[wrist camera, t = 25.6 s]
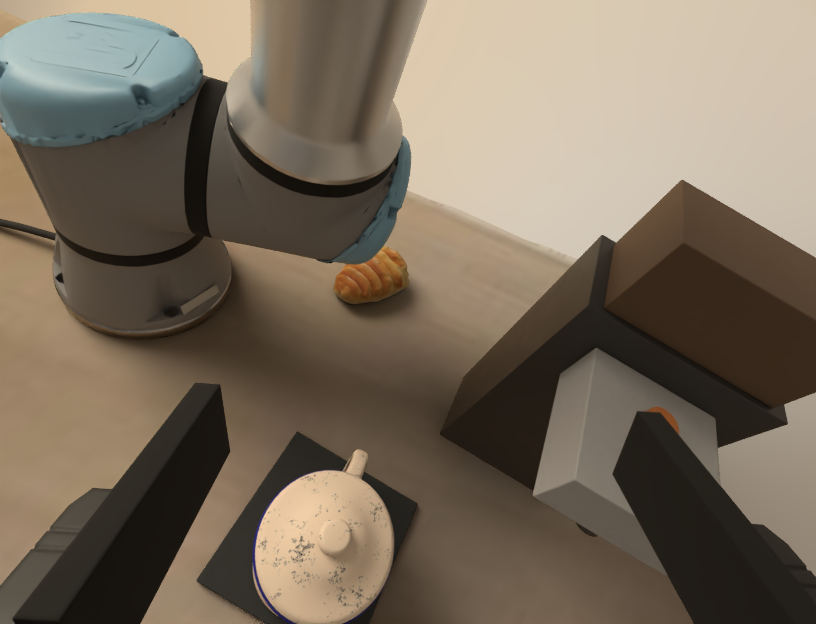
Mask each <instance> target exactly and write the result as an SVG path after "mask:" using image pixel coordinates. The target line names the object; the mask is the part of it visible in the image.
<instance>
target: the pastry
mask: <svg viewBox="0 0 816 624" xmlns="http://www.w3.org/2000/svg"><path fill="white" fill-rule="evenodd" d="M408 276H409V274H408V272H407V265H406V263H405V261H404V260H403V258H402V257H401V256H400V254H399V253H398V252H397V251H395V250H392V249H391V248H389V247H382V248H381V250H380V251H379V252H378V253H377V254H376V255H375V256H374V257H373V258H372V259H371V260H369V261H367V262H365V263H362V264H357V265H353V264H347V265H346V266H345V267H344V268H343V270H342V271H341V272H340V274H338V275H337V276H336V281H335V285H334V292H335V293H336V295H337V296H338V297H339V298H340V299H342V300H344V301H345V302H348V303H350V304H357V303H364V302H379V301H380V300H382V299H385V298H387V297H389V296H391V295H393V294H396V293H398V292H399V291H400V290H402V289H404V288H406V287H407V286H408V285H409V279H408Z"/></svg>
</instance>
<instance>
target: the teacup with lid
mask: <svg viewBox="0 0 816 624" xmlns="http://www.w3.org/2000/svg"><path fill="white" fill-rule="evenodd" d="M367 462H368V454H367V453H366V452H364V451H362V450H360V449H358V450H355V451H354V452H353V454H352V455H351V457H350V458H349V460H348V462H347V464H346V466H345V468H344V469H343V471H337V470H321V471H315V472H311V473H308V474H305V475H303V476H301V477H299V478H297V479H295V480H293V481H292V482H290V483H289V484H288V485H286V486H285V487H284V488H283V489H282V490H281V491H279V492H278V493H277V495H276V496H275V497H274V498H273V499H272V500H271V502H270V503H269V505H268V506H267V508H266V509H265V511H264V513H263V515H262V517H261V519H260V522H259V524H258V527H257V530H256V534H255V538H254V543H253V578H254V583H255V586H256V589H257V592H258V594H259V596H260V598H261V600H262V601H263V603H264V604H265V605H266V606H267V608H268V609H269V610H271V611H272V612H273V613H274V614H276V615H277V616H279V617H280V618H282V619H283V620H284V621H286V622H288V623H290V624H347V623H349V622H351V621H353V620H354V619H356V618H357V617H359V616H360V615H361V614H363V613H364V612H365V611H366V610H367V609H368V608H369V607H370V606H371V605H372V604H373V602H374V601H375V600H376V599H377V597H378V596H379V594H380V593H381V591H382V589H383V588H384V586H385V583H386V581H387V579H388V576H389V574H390V570H391V567H392V562H393V557H394V532H393V526H392V521H391V518H390V515H389V513H388V510H387V508H386V506H385V504H384V502H383V501H382V499H381V498H380V496H379V495H378V494H377V492H376V491H375V490H374V489H373V488H372V487H371V486H370V485H369V484H367V483H366V482H365V481H363V480H362V479H361V478H362V476H363V473H364V471H365V468H366V466H367Z"/></svg>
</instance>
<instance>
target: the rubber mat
mask: <svg viewBox="0 0 816 624" xmlns="http://www.w3.org/2000/svg"><path fill="white" fill-rule="evenodd" d="M346 464H347V461H345V460H344V459H342V458H341V457H339V456H337V455H336V454H334V453H332V452H331V451H329V450H327V449H326V448H324V447H322V446H321V445H319V444H317V443H316V442H314V441H312V440H311V439H309V438H307V437H306V436H304V435H302V434H301V433H299V432H297V433H296V434H295V436H294V437H293V439H292V440H291V441H290V443H289V444H288V446H287V447H286V449H285V450H284V452H283V453H282V455H281V456H280V458H279V459H278V461H277V462H276V464H275V465H274V467H273V468H272V470H271V471H270V472H269V474H268V475H267V477H266V478H265V480H264V481H263V483H262V484H261V486H260V487H259V489H258V490H257V492H256V493H255V495H254V496H253V498H252V499H251V501H250V502H249V503H248V505H247V506H246V508H245V509H244V511H243V512H242V514H241V515H240V517H239V518H238V520H237V521H236V523H235V524H234V526H233V527H232V529H231V530H230V532H229V533H228V534H227V536H226V537H225V539H224V540H223V542H222V543H221V545H220V546H219V548H218V549H217V551H216V552H215V554H214V555H213V557H212V558H211V560H210V561H209V563H208V564H207V565H206V567H205V568H204V570H203V571H202V573H201V574H200V576H199V577H198V579H197V582H199V583H200V584H202V585H204V586H205V587H207V588H209V589H210V590H212V591H214V592H215V593H217V594H219V595H220V596H222V597H223V598H225V599H227V600H228V601H230V602H232V603H233V604H235V605H237V606H238V607H240V608H242V609H243V610H245V611H246V612H248V613H250V614H251V615H253V616H255V617H256V618H258V619H260V620H261V621H263V622H265V623H266V624H290V623H288V622H286V621H284V620H283V619H282V618H280V617H279V616H277V615H276V614H274V613H273V612H272V611H271V610H269V609H268V608H267V606H266V605H265V604H264V603H263V601H262V600H261V598H260V596H259V594H258V592H257V589H256V586H255V583H254V578H253V543H254V538H255V534H256V530H257V527H258V524H259V522H260V519H261V517H262V515H263V513H264V511H265V509H266V508H267V506H268V505H269V503H270V502H271V500H272V499H273V498H274V497H275V496H276V495H277V493H278V492H279V491H281V490H282V489H283V488H284V487H285V486H286V485H288V484H289V483H290V482H292V481H293V480H295V479H297V478H299V477H301V476H303V475H305V474H308V473H311V472H315V471H321V470H337V471H343V469H344V468H345V466H346ZM361 479H362V480H363V481H365V482H366V483H367V484H369V485H370V486H371V487H372V488H373V489H374V490H375V491H376V492H377V494H378V495H379V496H380V498H381V499H382V501H383V502H384V504H385V506H386V508H387V510H388V513H389V515H390V518H391V521H392V526H393V532H394V557H393V562H392V566H393V563H394V561H395V558H396V556H397V553H398V551H399V548H400V546H401V543H402V541H403V539H404V536H405V534H406V531H407V529H408V526H409V524H410V521H411V519H412V516H413V514H414V512H415V509H416V507H417V503H415V502H414V501H412V500H410V499H409V498H407V497H405V496H404V495H402V494H400V493H399V492H397V491H395V490H394V489H392V488H390V487H389V486H387V485H385V484H384V483H382V482H380V481H379V480H377V479H375V478H374V477H372V476H370V475H369V474H367V473H365V472H364V473H363V476H362V478H361ZM391 568H392V567H391ZM382 590H383V589H382ZM381 592H382V591H381ZM380 595H381V593H380V594H379V596H378V597H377V599H376V600H375V601H374V602H373V604H372V605H371V606H370V607H369V608H368V609H367V610H366V611H365V612H364V613H363V614H361V615H360V616H359V617H357V618H356V619H354V620H353V621H351V622H349V623H347V624H369V622H370V619H371V617H372V615H373V612H374V610H375V607H376V605H377V602H378V600H379V597H380Z"/></svg>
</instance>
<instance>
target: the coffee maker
mask: <svg viewBox="0 0 816 624" xmlns="http://www.w3.org/2000/svg"><path fill="white" fill-rule="evenodd" d="M815 392H816V258H815V257H813V256H812V255H810V254H808V253H807V252H805V251H803V250H801V249H800V248H798V247H796V246H795V245H793V244H791V243H790V242H788V241H786V240H784V239H783V238H781V237H779V236H777V235H776V234H774V233H772V232H771V231H769V230H767V229H766V228H764V227H762V226H760V225H759V224H757V223H755V222H754V221H752V220H750V219H749V218H747V217H745V216H743V215H742V214H740V213H738V212H737V211H735V210H733V209H732V208H730V207H728V206H726V205H725V204H723V203H721V202H720V201H718V200H716V199H714V198H713V197H711V196H709V195H708V194H706V193H704V192H702V191H701V190H699V189H697V188H696V187H694V186H692V185H691V184H689V183H687V182H685V181H684V180H681V181H680V182H679V183H678V184H677V185H676V186H675V187H674V188H673V189H672V190H670V192H669V193H667V195H665V196H664V197H663V198H662V199H661V200H660V201H659V202H658V203H657V204H656V205H655V206H654V207H653V208H652V209H651V210H650V211H649V212H648V213H647V214H646V215H645V216H644V217H643V218H642V219H641V220H640V221H639V222H637V223H636V224H635V225H634V226H633V227H632V228H631V229H630V230H629V231H628V232H627V233H626V234H625V235H624V236H623V237H622V238H621V239H620V240H619V241H618V242H617V243H615V242H614V241H612V240H610V239H609V238H607V237H605V236H604V235H602V236H600V237H599V238H598V240H597V241H596V242H595V243H594V244H593V245H592V246H591V247H590V248H589V249H588V250H587V251H586V252H585V253H584V254H583V255H582V256H581V257H580V258H579V259H578V260H577V261H576V262H575V263H574V264H573V265H572V266H571V267H570V268H569V269H568V270H567V271H566V272H565V273H564V274H563V275H562V276H561V277H560V279H559V280H558V281H557V282H556V283H555V284H554V285H553V286H552V287H551V288H550V289H549V290H548V291H547V292H546V293H545V294H544V295H543V296H542V297H541V298H540V299H539V300H538V301H537V302H536V303H535V304H534V305H533V306H532V307H531V308H530V309H529V310H528V311H527V312H526V313H525V314H524V315H523V317H522V318H521V319H520V320H519V321H518V322H517V323H516V324H515V325H514V326H513V327H512V328H511V329H510V330H509V331H508V332H507V333H506V334H505V335H504V336H503V337H502V338H501V339H500V340H499V341H498V342H497V343H496V344H495V345H494V346H493V347H492V348H491V349H490V350H489V351H488V352H487V353H486V355H485V356H484V357H483V358H482V359H481V360H480V361H479V362H478V363H477V364H476V365H475V366H474V367H473V368H472V369H471V370H470V371H469V372H468V373H467V374H466V375H465V376H464V378H463V380H462V382H461V385H460V387H459V389H458V392H457V394H456V397H455V399H454V401H453V404H452V406H451V409H450V411H449V413H448V416H447V418H446V421H445V423H444V425H443V428H442V430H441V432H440V435H442V436H444V437H445V438H447V439H449V440H450V441H452V442H454V443H455V444H457V445H459V446H460V447H462V448H464V449H465V450H467V451H469V452H470V453H472V454H474V455H475V456H477V457H479V458H480V459H482V460H484V461H485V462H487V463H489V464H490V465H492V466H494V467H495V468H497V469H499V470H500V471H502V472H504V473H505V474H507V475H509V476H510V477H512V478H514V479H515V480H517V481H519V482H520V483H522V484H524V485H525V486H527V487H529V488H530V489H532V490H534V491H533V497H535V498H536V499H538V500H540V501H541V502H543V503H545V504H546V505H548V506H550V507H551V508H553V509H555V510H556V511H558V512H560V513H561V514H563V515H565V516H566V517H568V518H570V519H571V520H573V521H575V522H576V524H577V525H578V527H579V528H580V529H581V530H582V531H583V532H584V533H586V534H587V535H590V536H593V537H596V536H600V537H601V538H603V539H605V540H606V541H608V542H610V543H611V544H613V545H615V546H616V547H618V548H620V549H621V550H623V551H625V552H626V553H628V554H630V555H631V556H633V557H635V558H636V559H638V560H640V561H641V562H643V563H645V564H646V565H648V566H650V567H651V568H653V569H655V570H656V571H658V572H660V573H661V574H663V575H665V576H668V575H667V573H666V571H665V570H664V568H663V566H662V564H661V562H660V561H659V559H658V557H657V555H656V553H655V551H654V550H653V548H652V546H651V544H650V542H649V540H648V539H647V537H646V535H645V533H644V531H643V529H642V528H641V526H640V524H639V522H638V520H637V519H636V517H635V515H634V513H633V511H632V509H631V508H630V506H629V504H628V502H627V500H626V498H625V497H624V495H623V493H622V491H621V489H620V487H619V486H618V484H617V482H616V480H615V478H614V477H613V475H612V473H613V471H614V468H615V465H616V463H617V460H618V458H619V455H620V453H621V450H622V448H623V445H624V443H625V440H626V438H627V435H628V433H629V430H630V428H631V425H632V423H633V420H634V418H635V415H636V413H637V411H644V412H660V413H661V414H662V415H663V416H664V417H665V418H666V420H667V421H668V422H669V423H670V425H671V426H672V427H673V428H674V429H675V431H676V432H677V433H678V434H679V436H680V437H681V438H682V439H683V441H684V442H685V443H686V444H687V445H688V447H689V448H690V449H691V450H692V452H693V453H694V454H695V455H696V456H697V458H698V459H699V460H700V461H701V463H702V464H703V465H704V466H705V467H706V469H707V470H708V471H709V472H710V474H711V475H712V476H713V477H714V479H715V480H716V481H717V482H718V483H719V485H720V472H719V461H718V460H719V459H718V448H719V447H722V446H725V445H728V444H731V443H734V442H736V441H739V440H742V439H745V438H748V437H751V436H754V435H757V434H760V433H763V432H766V431H769V430H772V429H775V428H778V427H781V426H784V425H787V424H788V422H787V417H786V413H785V407H784V404H786V403H789V402H791V401H794V400H797V399H799V398H802V397H805V396H807V395H810V394H812V393H815Z"/></svg>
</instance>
